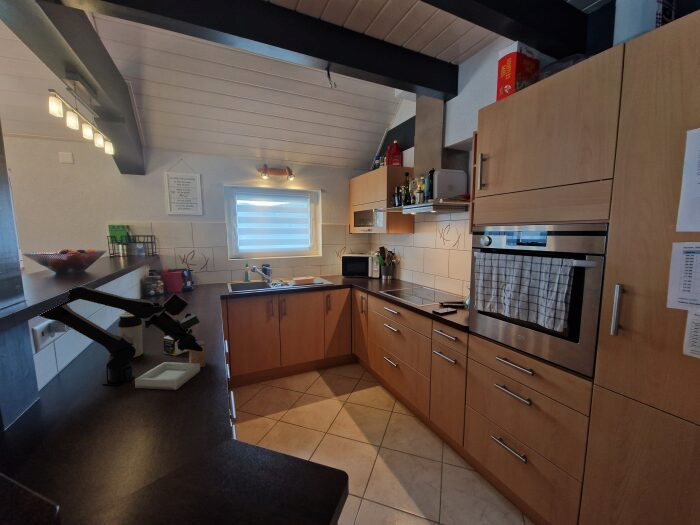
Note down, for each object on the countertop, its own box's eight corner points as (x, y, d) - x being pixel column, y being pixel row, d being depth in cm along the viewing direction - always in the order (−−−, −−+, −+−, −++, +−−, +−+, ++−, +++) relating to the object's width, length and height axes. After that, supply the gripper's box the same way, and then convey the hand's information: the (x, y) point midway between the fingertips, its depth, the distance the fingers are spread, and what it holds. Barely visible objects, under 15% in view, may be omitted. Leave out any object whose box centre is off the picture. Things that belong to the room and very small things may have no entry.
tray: (135, 387, 96) (135, 379, 96) (164, 369, 110) (164, 362, 110) (176, 389, 95) (176, 380, 95) (200, 371, 109) (199, 363, 109)
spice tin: (190, 369, 111) (190, 346, 110) (189, 364, 115) (189, 342, 114) (205, 366, 114) (205, 343, 113) (203, 361, 118) (203, 340, 117)
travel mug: (133, 359, 119) (132, 316, 118) (114, 358, 119) (113, 315, 118) (147, 352, 127) (146, 311, 126) (129, 351, 127) (128, 311, 126)
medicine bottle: (163, 353, 126) (162, 326, 125) (178, 348, 133) (178, 322, 132) (174, 355, 123) (174, 328, 123) (189, 350, 130) (189, 324, 129)
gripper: (188, 313, 103) (221, 338, 110) (182, 304, 118) (212, 326, 125) (162, 338, 99) (198, 363, 106) (160, 325, 114) (191, 347, 121)
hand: (201, 348), depth 115 cm, fingers closed on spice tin, 5 cm apart
